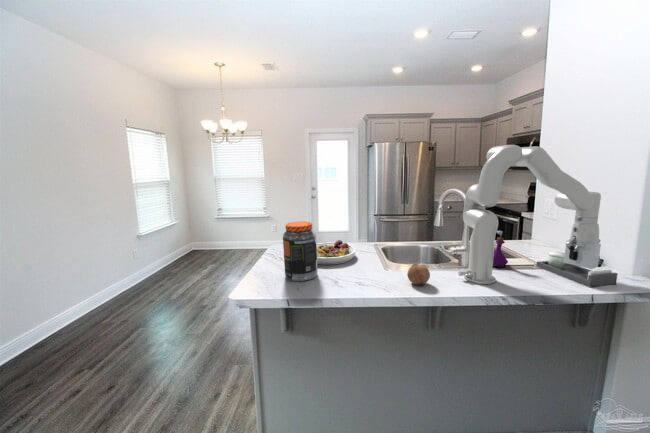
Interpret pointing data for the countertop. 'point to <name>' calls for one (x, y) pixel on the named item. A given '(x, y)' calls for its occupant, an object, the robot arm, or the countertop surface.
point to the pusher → (599, 272)
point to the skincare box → (584, 256)
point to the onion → (418, 274)
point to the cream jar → (556, 259)
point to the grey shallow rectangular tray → (581, 275)
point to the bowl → (334, 253)
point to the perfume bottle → (499, 252)
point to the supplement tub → (300, 251)
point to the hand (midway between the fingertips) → (581, 258)
